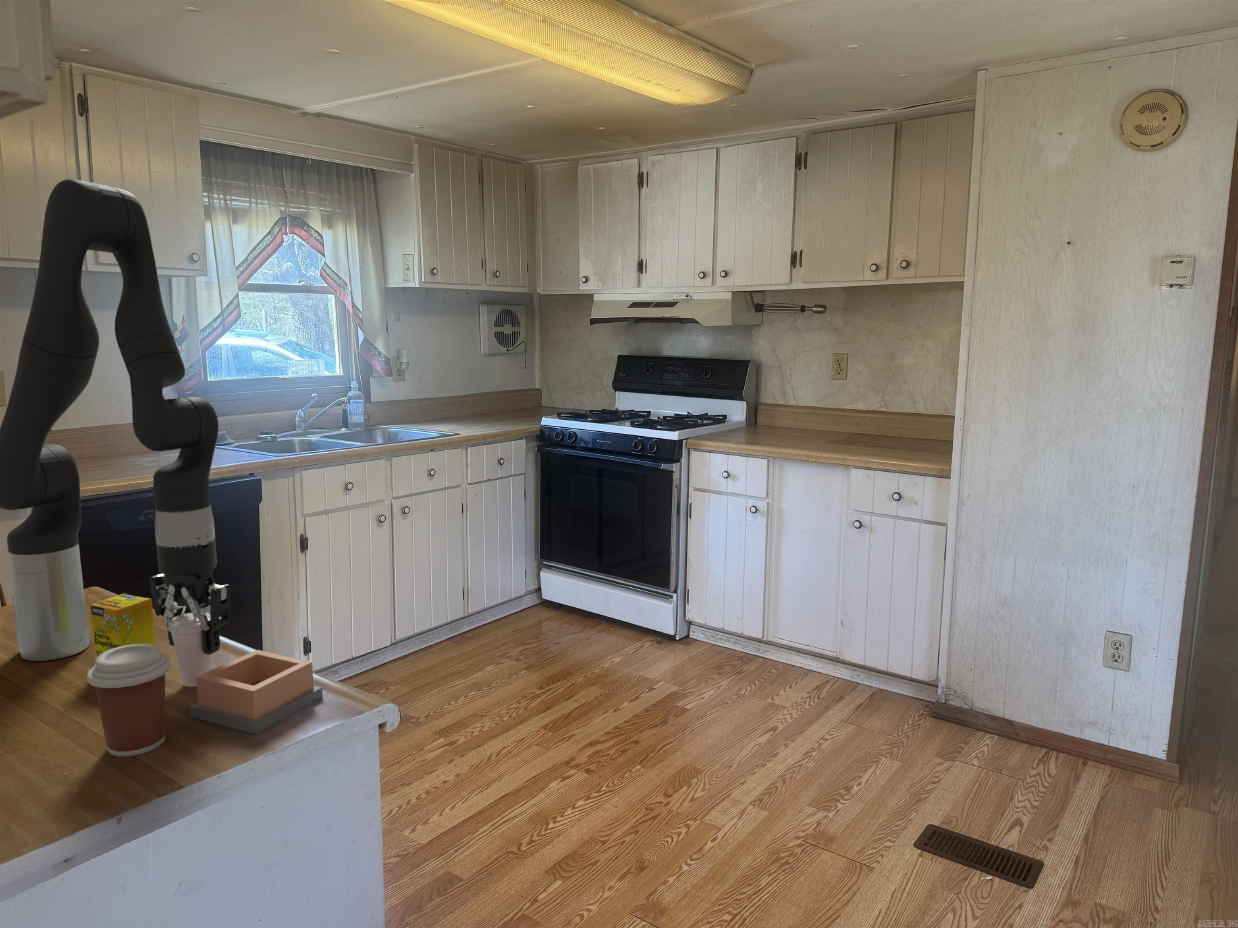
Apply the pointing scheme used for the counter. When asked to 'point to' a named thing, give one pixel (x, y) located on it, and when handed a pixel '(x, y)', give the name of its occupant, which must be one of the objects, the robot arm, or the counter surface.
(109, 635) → the supplement box
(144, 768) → the counter surface
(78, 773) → the counter surface
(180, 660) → the smoothie
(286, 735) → the counter surface
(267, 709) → the socket
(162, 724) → the coffee cup
